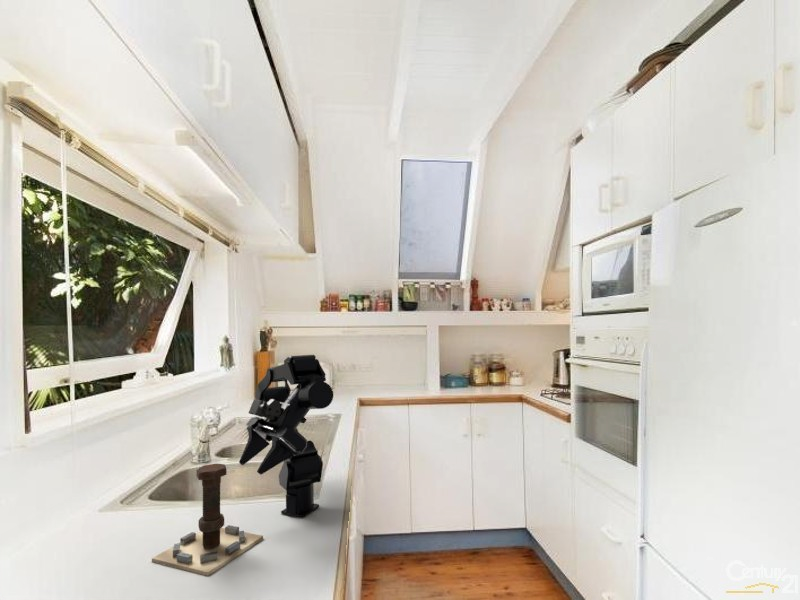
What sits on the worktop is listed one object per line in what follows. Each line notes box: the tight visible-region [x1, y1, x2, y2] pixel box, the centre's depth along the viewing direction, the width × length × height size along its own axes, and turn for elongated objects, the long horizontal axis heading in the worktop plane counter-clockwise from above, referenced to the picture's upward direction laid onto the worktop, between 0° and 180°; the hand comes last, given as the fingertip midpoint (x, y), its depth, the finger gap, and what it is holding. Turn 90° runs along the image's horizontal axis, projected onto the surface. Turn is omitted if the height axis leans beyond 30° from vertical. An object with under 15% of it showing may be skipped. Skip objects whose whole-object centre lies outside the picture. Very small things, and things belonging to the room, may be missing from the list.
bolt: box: [196, 463, 227, 549], centre depth 84 cm, size 6×5×15 cm
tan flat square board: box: [151, 527, 264, 577], centre depth 84 cm, size 14×14×1 cm
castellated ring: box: [172, 524, 245, 564], centre depth 84 cm, size 13×13×1 cm
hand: (249, 468), depth 90 cm, fingers open, 9 cm apart
